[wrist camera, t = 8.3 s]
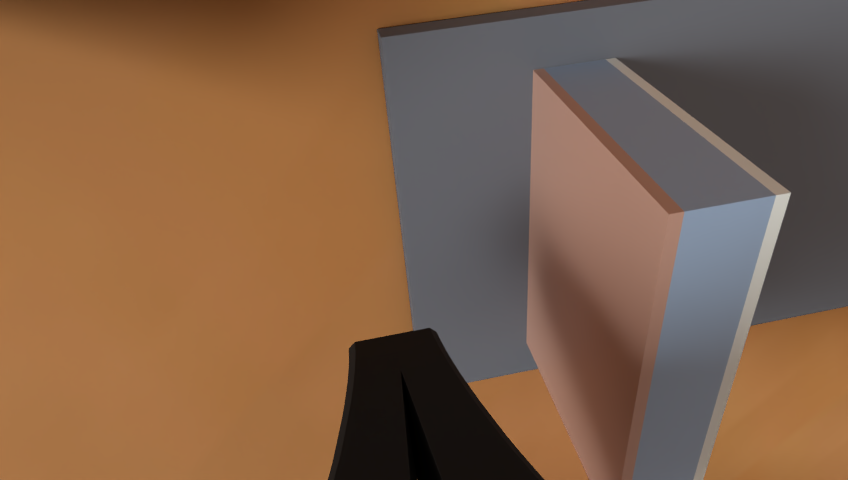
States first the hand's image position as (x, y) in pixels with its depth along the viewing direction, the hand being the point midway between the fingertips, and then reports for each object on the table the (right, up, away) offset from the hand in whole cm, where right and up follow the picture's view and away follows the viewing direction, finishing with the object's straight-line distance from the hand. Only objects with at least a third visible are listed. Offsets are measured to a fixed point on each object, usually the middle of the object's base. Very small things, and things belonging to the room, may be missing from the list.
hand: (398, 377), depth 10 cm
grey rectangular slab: (+7, +4, +4) cm, 9 cm away
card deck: (+3, +3, +3) cm, 5 cm away
